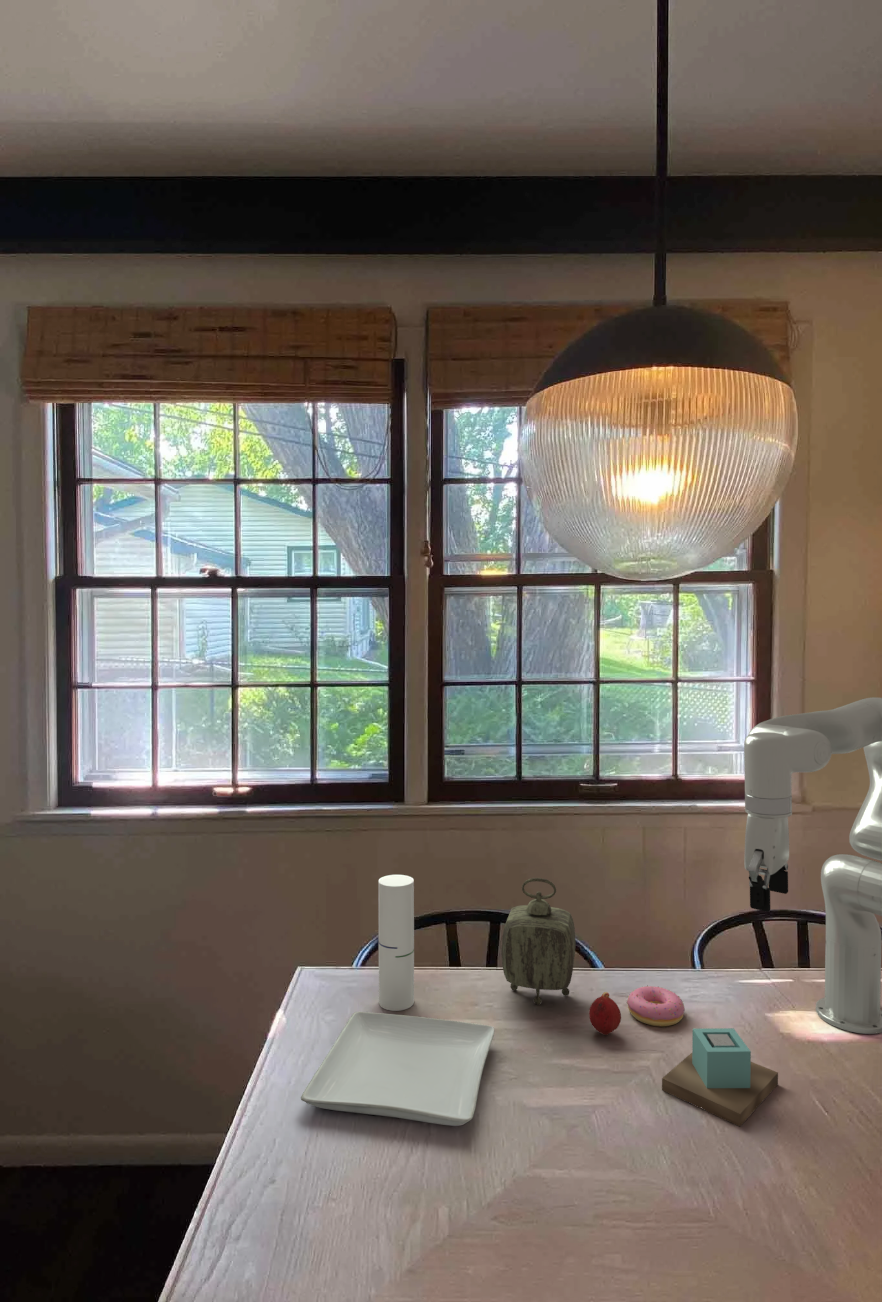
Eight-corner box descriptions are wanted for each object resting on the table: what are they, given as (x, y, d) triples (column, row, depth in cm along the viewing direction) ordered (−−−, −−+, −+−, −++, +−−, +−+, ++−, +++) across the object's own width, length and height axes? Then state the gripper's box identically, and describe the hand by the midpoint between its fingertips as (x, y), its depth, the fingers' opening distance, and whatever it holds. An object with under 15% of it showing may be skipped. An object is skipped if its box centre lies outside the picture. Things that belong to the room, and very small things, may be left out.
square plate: (354, 1028, 145) (353, 1008, 145) (496, 1044, 139) (496, 1023, 139) (298, 1118, 118) (298, 1094, 118) (471, 1143, 113) (471, 1117, 112)
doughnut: (616, 1017, 148) (617, 996, 148) (642, 996, 157) (642, 976, 157) (670, 1037, 141) (670, 1015, 141) (693, 1014, 150) (693, 993, 149)
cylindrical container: (383, 992, 158) (382, 873, 157) (416, 994, 157) (416, 875, 156) (375, 1009, 151) (374, 885, 150) (410, 1012, 150) (410, 887, 149)
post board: (703, 1053, 135) (703, 1009, 135) (777, 1084, 126) (778, 1037, 126) (661, 1090, 125) (662, 1042, 124) (740, 1126, 116) (740, 1075, 115)
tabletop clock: (575, 993, 158) (576, 874, 157) (572, 1014, 149) (573, 889, 148) (506, 985, 161) (506, 869, 160) (499, 1006, 152) (500, 883, 151)
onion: (608, 1047, 138) (608, 1003, 137) (582, 1034, 142) (582, 992, 142) (626, 1035, 141) (627, 993, 141) (601, 1023, 146) (601, 982, 145)
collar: (692, 1063, 129) (692, 1028, 129) (733, 1063, 129) (733, 1028, 129) (706, 1088, 122) (707, 1051, 122) (750, 1088, 122) (750, 1051, 122)
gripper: (762, 791, 141) (763, 881, 142) (728, 812, 128) (730, 911, 129) (805, 796, 136) (806, 890, 137) (774, 819, 123) (776, 922, 124)
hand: (769, 900), depth 133 cm, fingers open, 9 cm apart
